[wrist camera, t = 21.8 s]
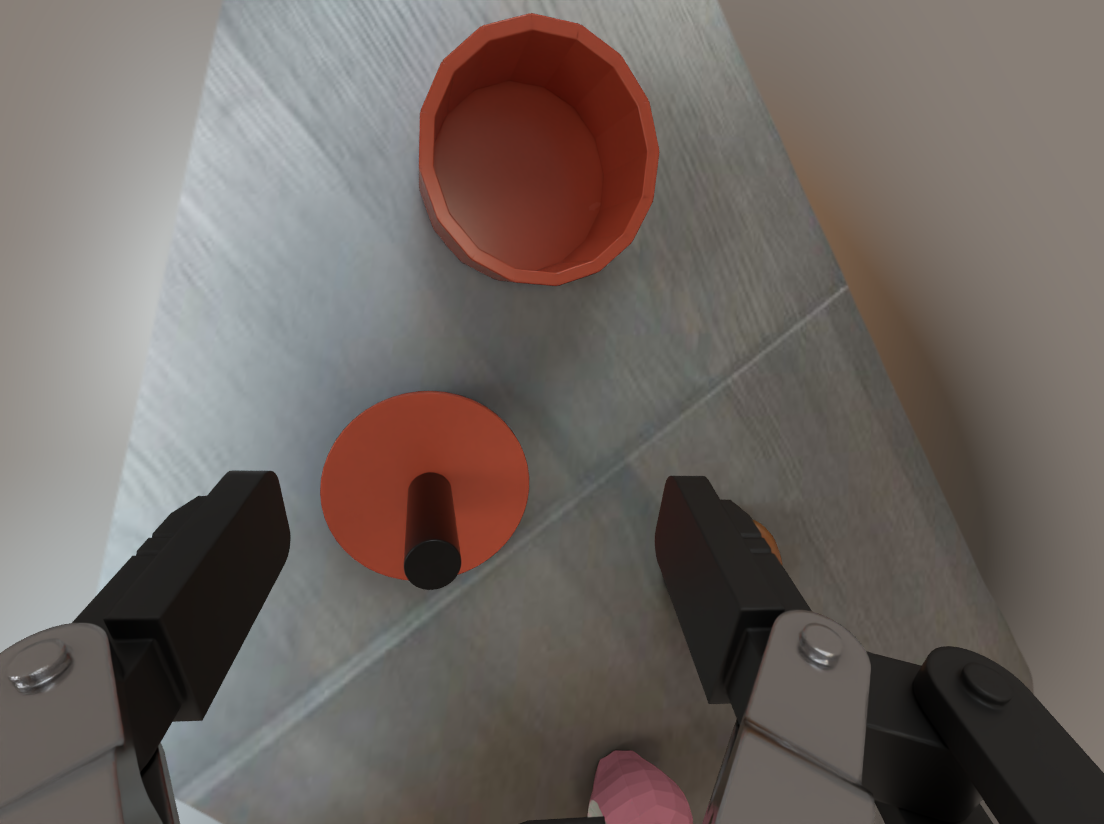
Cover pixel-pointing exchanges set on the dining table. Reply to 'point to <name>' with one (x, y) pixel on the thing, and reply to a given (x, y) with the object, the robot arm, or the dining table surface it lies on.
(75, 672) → the robot arm
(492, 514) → the cooker lid
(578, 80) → the cup
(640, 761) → the apple
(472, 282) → the dining table surface
